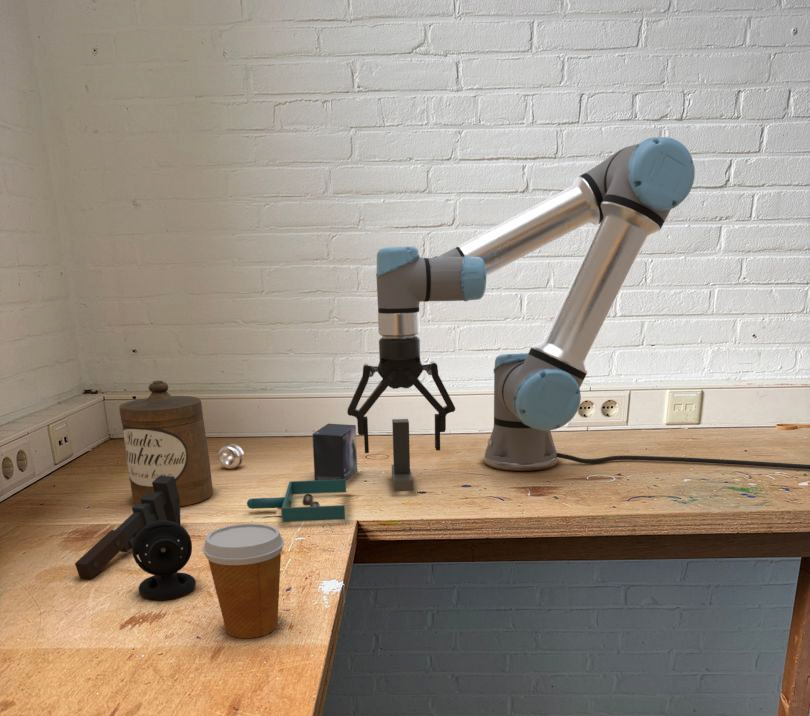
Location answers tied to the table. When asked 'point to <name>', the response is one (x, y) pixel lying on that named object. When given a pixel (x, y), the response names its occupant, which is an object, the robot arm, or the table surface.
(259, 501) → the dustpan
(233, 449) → the grooved metal pulley
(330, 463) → the small box
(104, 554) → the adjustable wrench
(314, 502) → the glossy brown capsule
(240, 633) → the disposable coffee cup
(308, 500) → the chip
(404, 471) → the gray l-shaped block
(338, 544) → the table surface
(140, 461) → the wooden container
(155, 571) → the webcam
